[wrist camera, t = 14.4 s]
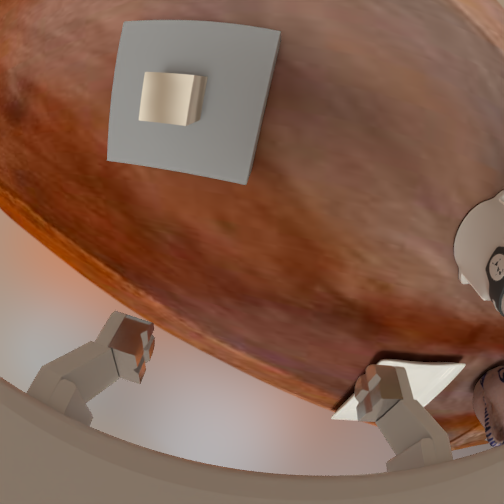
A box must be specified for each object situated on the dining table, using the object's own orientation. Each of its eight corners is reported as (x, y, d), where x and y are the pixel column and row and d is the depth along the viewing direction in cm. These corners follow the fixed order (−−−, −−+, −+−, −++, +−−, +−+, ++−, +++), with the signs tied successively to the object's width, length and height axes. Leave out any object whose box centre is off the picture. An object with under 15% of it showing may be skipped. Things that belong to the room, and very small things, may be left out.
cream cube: (207, 76, 26) (194, 75, 22) (199, 120, 29) (185, 126, 25) (164, 72, 26) (145, 71, 22) (158, 114, 29) (138, 120, 25)
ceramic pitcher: (490, 388, 64) (509, 448, 43) (449, 395, 64) (466, 465, 43) (520, 354, 54) (547, 417, 33) (481, 359, 55) (509, 435, 34)
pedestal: (281, 40, 28) (280, 31, 23) (251, 170, 38) (246, 185, 33) (145, 28, 28) (123, 21, 23) (128, 149, 37) (107, 160, 32)
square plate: (328, 408, 69) (329, 420, 65) (377, 347, 54) (381, 361, 51) (407, 410, 69) (410, 420, 66) (463, 354, 55) (468, 365, 51)
